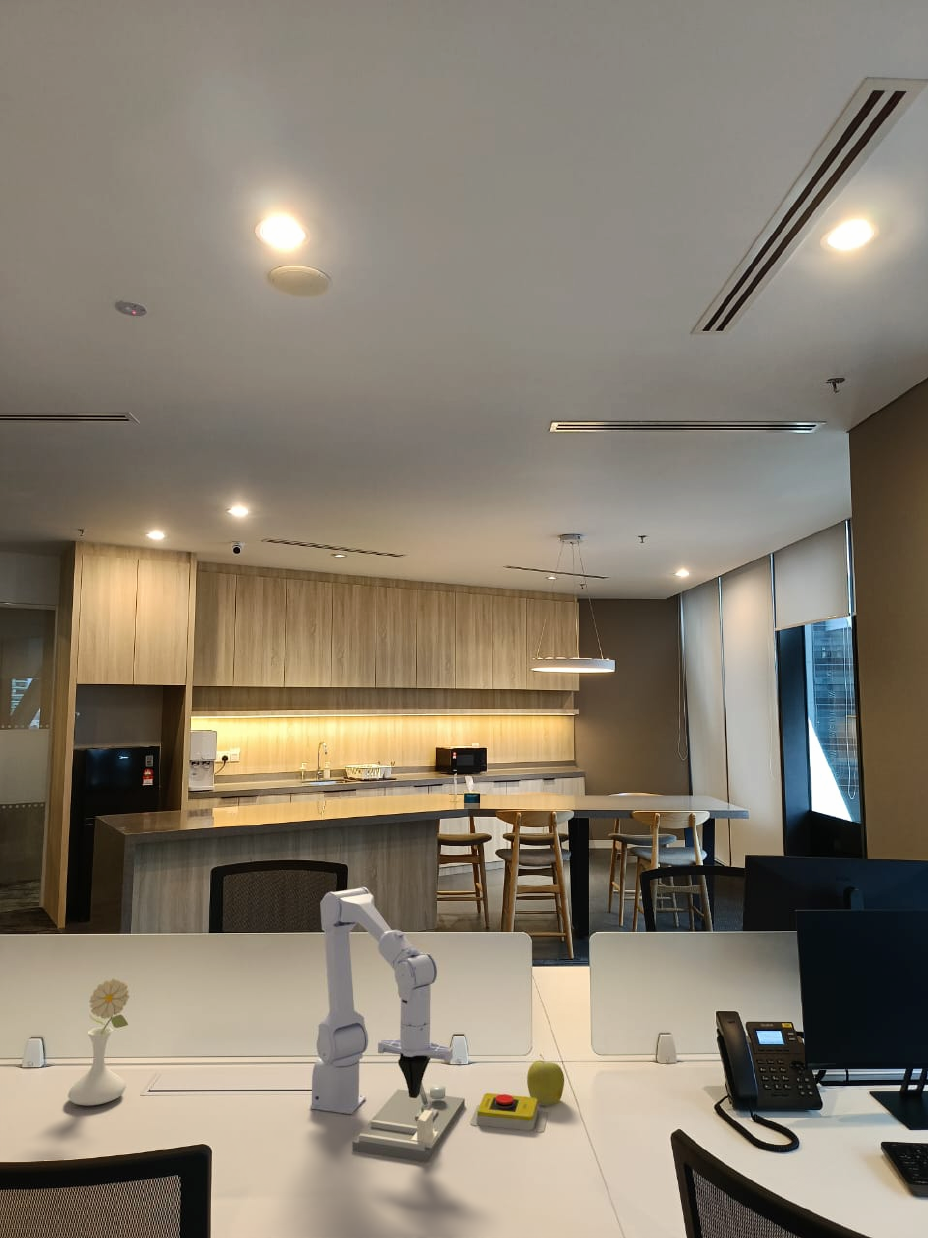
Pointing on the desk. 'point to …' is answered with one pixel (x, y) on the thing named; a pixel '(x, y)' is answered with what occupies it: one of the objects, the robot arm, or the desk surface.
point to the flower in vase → (102, 1047)
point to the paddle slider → (425, 1130)
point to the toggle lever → (425, 1100)
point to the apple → (545, 1082)
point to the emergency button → (509, 1113)
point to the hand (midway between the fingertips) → (414, 1095)
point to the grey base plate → (406, 1126)
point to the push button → (437, 1092)
